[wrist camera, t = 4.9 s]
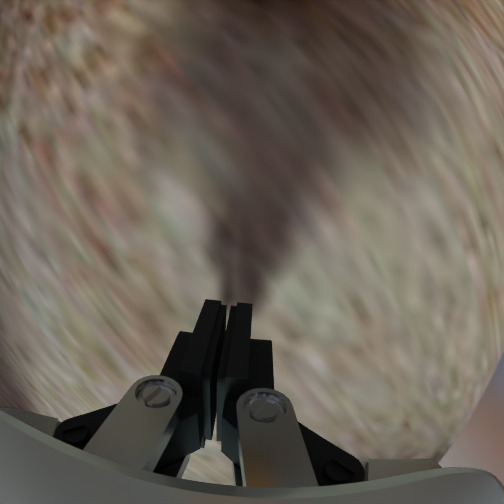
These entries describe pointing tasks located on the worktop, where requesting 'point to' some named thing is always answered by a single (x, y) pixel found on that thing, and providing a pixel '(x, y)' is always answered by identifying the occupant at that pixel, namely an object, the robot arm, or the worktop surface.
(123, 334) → the worktop surface
